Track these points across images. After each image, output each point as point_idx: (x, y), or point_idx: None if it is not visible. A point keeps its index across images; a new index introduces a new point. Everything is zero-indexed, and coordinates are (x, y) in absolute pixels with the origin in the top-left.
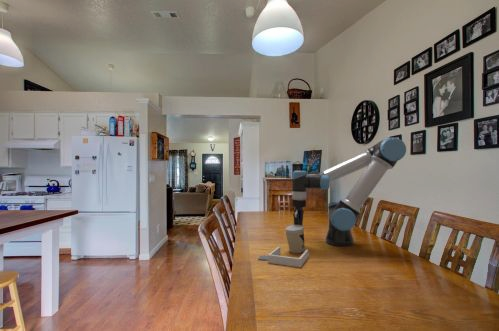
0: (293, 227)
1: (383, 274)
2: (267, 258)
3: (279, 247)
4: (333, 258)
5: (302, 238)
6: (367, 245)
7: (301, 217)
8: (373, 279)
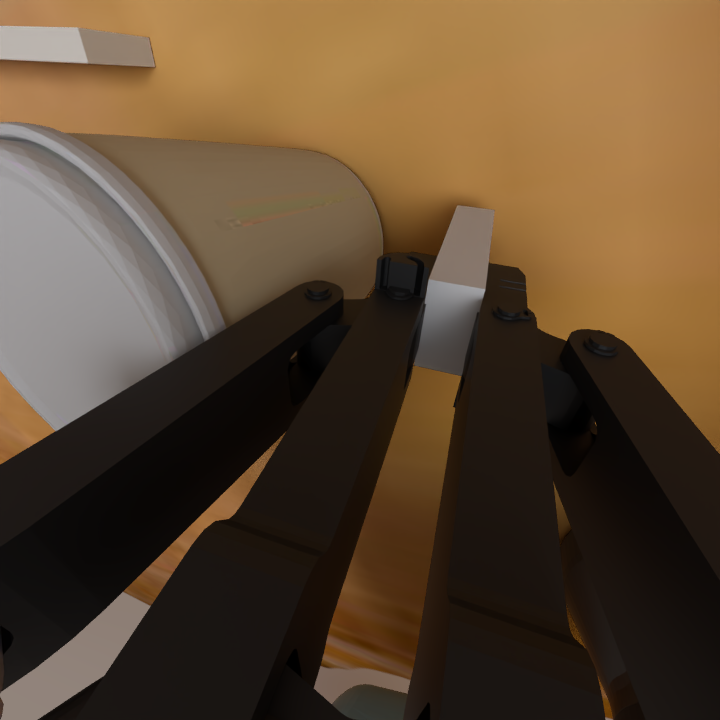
0: (63, 326)
1: (191, 544)
2: None
3: (57, 61)
4: (268, 457)
5: None
6: None
7: (408, 700)
8: None
